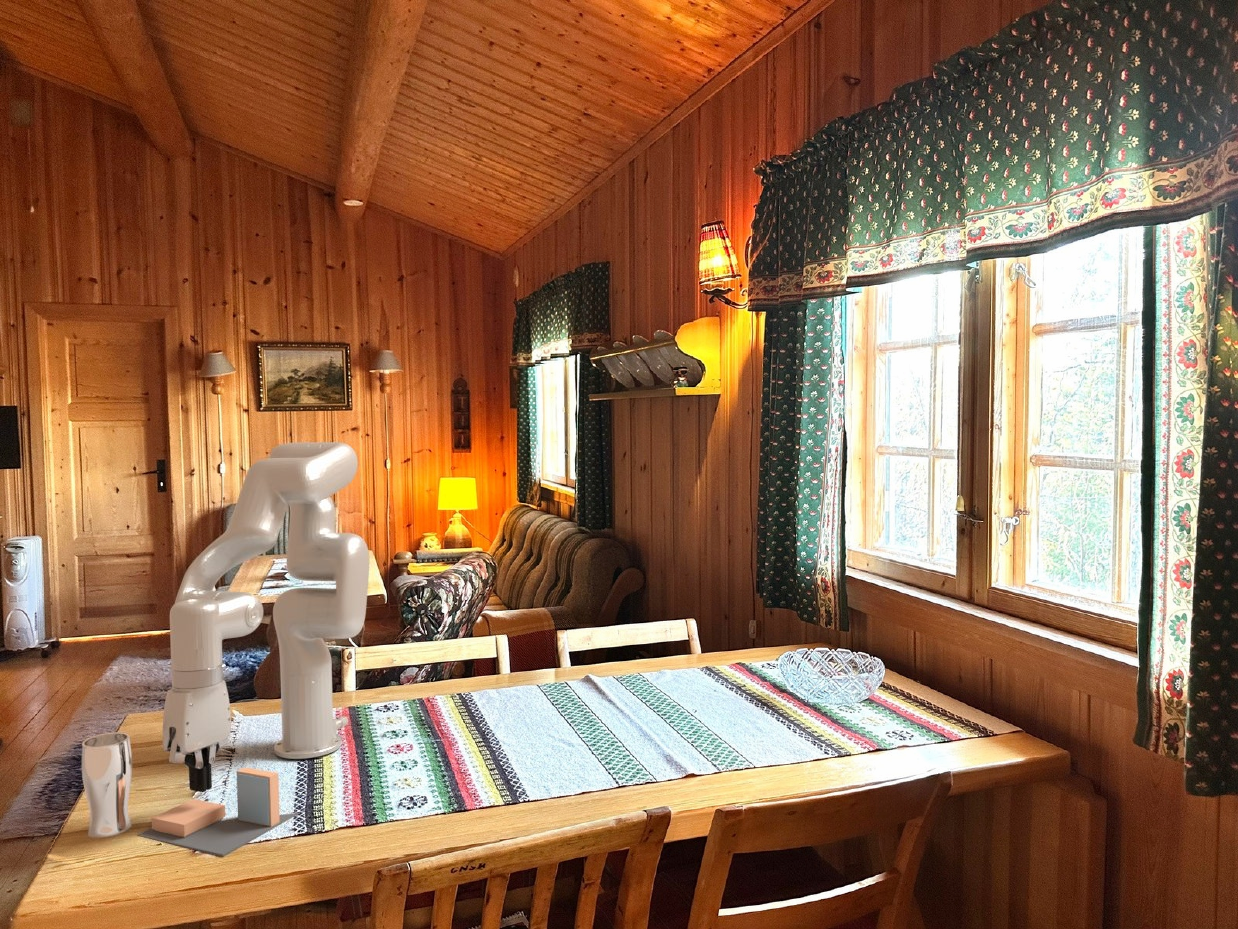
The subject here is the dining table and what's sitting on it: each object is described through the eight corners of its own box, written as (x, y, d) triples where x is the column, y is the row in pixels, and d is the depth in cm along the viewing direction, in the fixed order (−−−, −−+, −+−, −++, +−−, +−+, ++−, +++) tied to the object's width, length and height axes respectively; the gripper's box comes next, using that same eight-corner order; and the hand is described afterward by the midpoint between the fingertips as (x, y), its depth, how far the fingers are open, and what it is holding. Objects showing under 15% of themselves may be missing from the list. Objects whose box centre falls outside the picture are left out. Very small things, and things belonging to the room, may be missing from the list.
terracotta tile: (193, 799, 153) (151, 818, 145) (225, 805, 150) (184, 825, 142) (193, 811, 153) (152, 831, 145) (225, 818, 150) (184, 838, 143)
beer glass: (79, 845, 142) (74, 750, 141) (92, 825, 149) (87, 734, 148) (129, 839, 144) (125, 745, 143) (139, 820, 151) (135, 730, 150)
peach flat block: (246, 815, 151) (245, 767, 150) (279, 822, 148) (278, 773, 148) (236, 820, 149) (235, 771, 148) (269, 827, 146) (268, 777, 146)
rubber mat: (228, 796, 160) (227, 792, 160) (309, 812, 153) (309, 808, 153) (137, 838, 144) (137, 835, 144) (223, 858, 137) (223, 854, 137)
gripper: (217, 664, 157) (220, 770, 158) (140, 686, 144) (144, 803, 144) (250, 668, 154) (253, 776, 155) (175, 691, 141) (179, 810, 141)
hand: (200, 789), depth 150 cm, fingers closed
